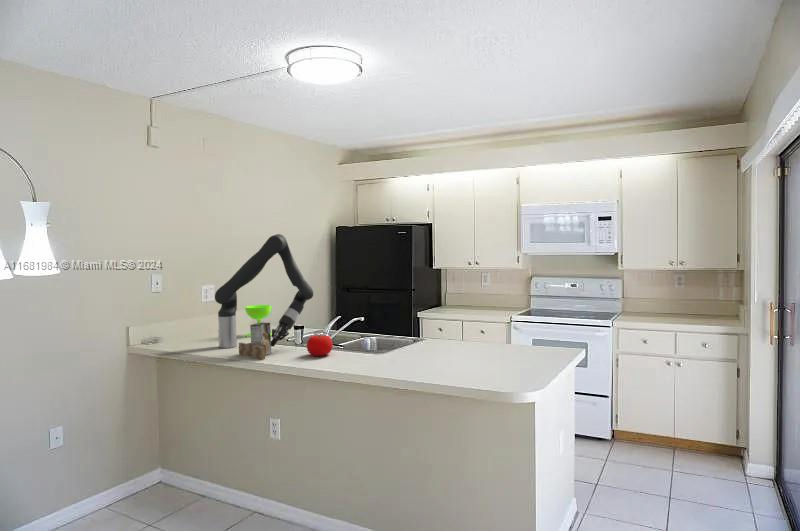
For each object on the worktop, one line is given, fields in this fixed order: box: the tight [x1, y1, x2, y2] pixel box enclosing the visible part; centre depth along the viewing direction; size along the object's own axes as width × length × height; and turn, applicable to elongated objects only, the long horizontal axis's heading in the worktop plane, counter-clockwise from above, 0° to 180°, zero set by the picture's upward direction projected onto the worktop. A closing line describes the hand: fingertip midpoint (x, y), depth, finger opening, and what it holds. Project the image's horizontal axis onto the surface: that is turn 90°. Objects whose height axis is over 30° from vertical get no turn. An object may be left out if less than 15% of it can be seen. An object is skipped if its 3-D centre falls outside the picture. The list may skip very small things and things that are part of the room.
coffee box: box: [250, 322, 272, 356], centre depth 290 cm, size 9×6×16 cm
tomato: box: [306, 334, 334, 357], centre depth 285 cm, size 14×13×10 cm
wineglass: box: [244, 304, 272, 338], centre depth 353 cm, size 16×16×18 cm
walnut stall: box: [238, 342, 267, 360], centre depth 287 cm, size 22×5×6 cm, turn 47°
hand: (271, 345), depth 294 cm, fingers closed
